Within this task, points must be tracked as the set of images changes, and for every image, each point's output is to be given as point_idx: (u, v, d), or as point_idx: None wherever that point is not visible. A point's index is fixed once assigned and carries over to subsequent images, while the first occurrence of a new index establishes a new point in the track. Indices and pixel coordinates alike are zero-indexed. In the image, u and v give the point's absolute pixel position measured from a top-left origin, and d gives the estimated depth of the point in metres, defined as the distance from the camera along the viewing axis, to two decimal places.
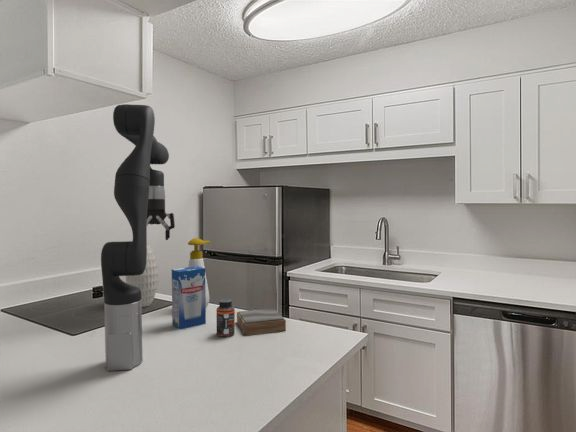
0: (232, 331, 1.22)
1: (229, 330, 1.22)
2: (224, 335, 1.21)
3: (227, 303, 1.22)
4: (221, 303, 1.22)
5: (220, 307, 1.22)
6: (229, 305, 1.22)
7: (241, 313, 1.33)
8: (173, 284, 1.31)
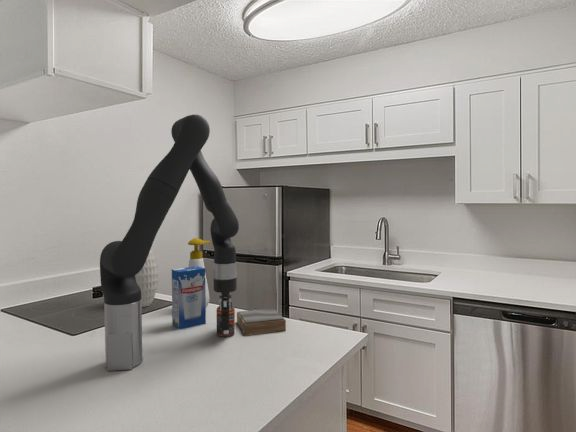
0: (232, 331, 1.22)
1: (229, 330, 1.21)
2: (224, 335, 1.21)
3: None
4: None
5: None
6: None
7: (241, 313, 1.33)
8: (173, 284, 1.31)
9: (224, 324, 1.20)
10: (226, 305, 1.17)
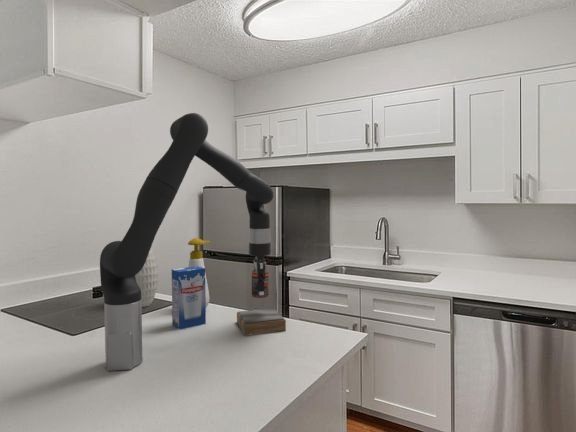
0: (267, 293, 1.30)
1: (264, 292, 1.29)
2: (259, 296, 1.28)
3: None
4: None
5: None
6: None
7: (241, 313, 1.33)
8: (173, 284, 1.31)
9: (260, 285, 1.27)
10: (262, 267, 1.24)
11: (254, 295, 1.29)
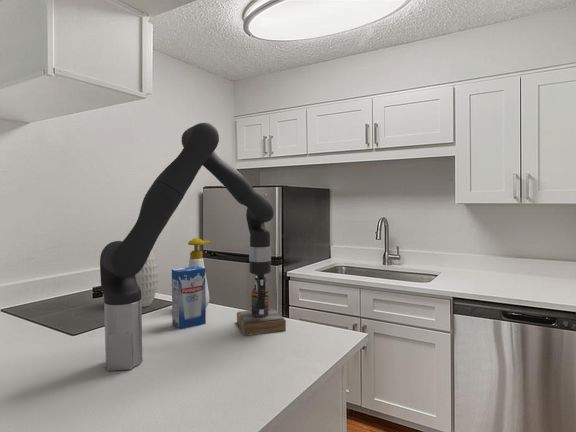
0: (267, 312, 1.30)
1: (264, 311, 1.29)
2: (259, 315, 1.29)
3: None
4: None
5: (255, 289, 1.30)
6: None
7: (241, 313, 1.33)
8: (173, 284, 1.31)
9: (260, 303, 1.26)
10: (263, 283, 1.24)
11: (254, 314, 1.29)
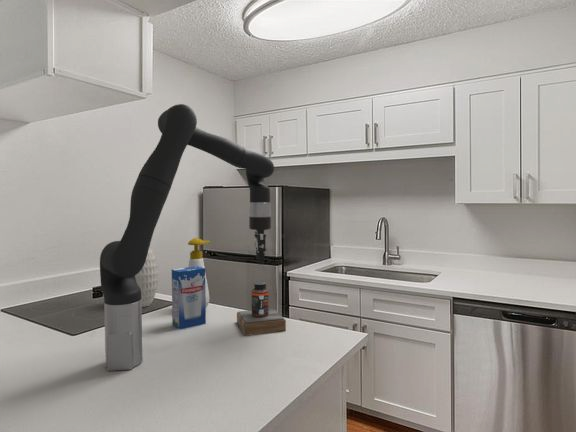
0: (267, 312, 1.30)
1: (264, 311, 1.29)
2: (259, 315, 1.29)
3: (262, 285, 1.29)
4: (257, 286, 1.29)
5: (255, 289, 1.30)
6: (264, 287, 1.30)
7: (241, 313, 1.33)
8: (173, 284, 1.31)
9: (260, 258, 1.25)
10: (263, 237, 1.24)
11: (254, 314, 1.29)
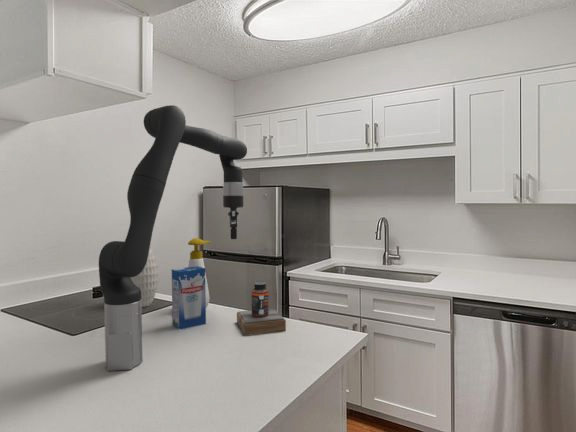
0: (267, 312, 1.30)
1: (264, 311, 1.29)
2: (259, 315, 1.29)
3: (262, 285, 1.29)
4: (257, 286, 1.29)
5: (255, 289, 1.30)
6: (264, 287, 1.30)
7: (241, 313, 1.33)
8: (173, 284, 1.31)
9: (232, 233, 1.36)
10: (234, 214, 1.34)
11: (254, 314, 1.29)
